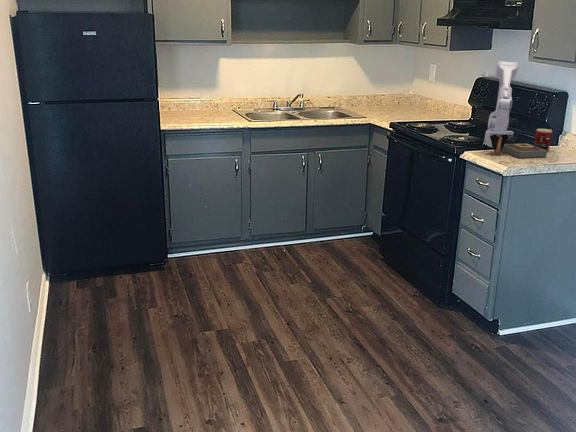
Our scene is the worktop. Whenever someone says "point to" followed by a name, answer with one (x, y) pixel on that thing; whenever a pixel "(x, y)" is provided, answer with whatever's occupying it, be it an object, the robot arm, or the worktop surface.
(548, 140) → the canned food
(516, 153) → the tray
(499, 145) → the peg
